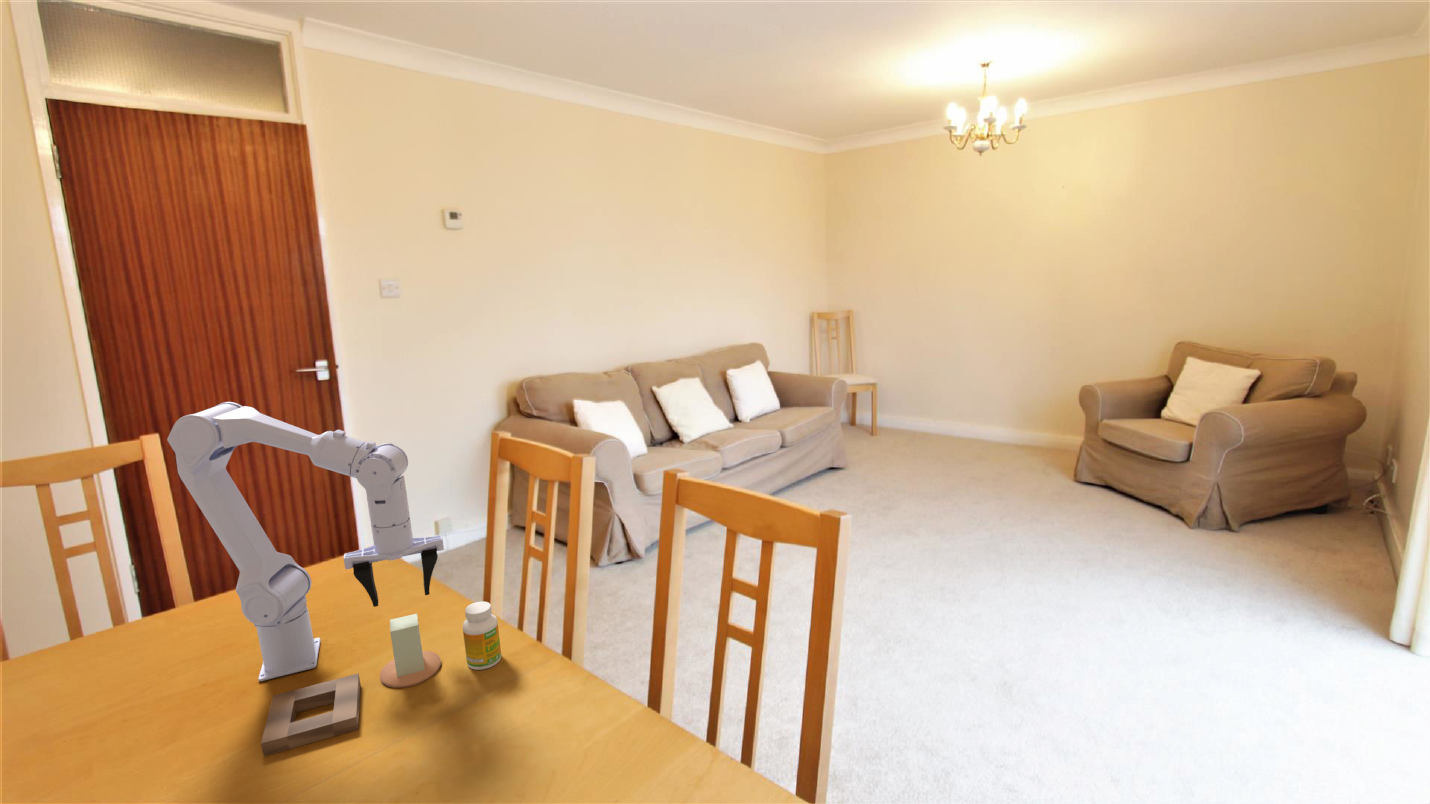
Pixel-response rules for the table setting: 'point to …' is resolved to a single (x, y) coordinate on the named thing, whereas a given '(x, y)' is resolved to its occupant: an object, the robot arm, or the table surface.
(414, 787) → the table surface
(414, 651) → the peg
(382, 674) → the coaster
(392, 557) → the robot arm
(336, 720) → the block
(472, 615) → the supplement bottle
